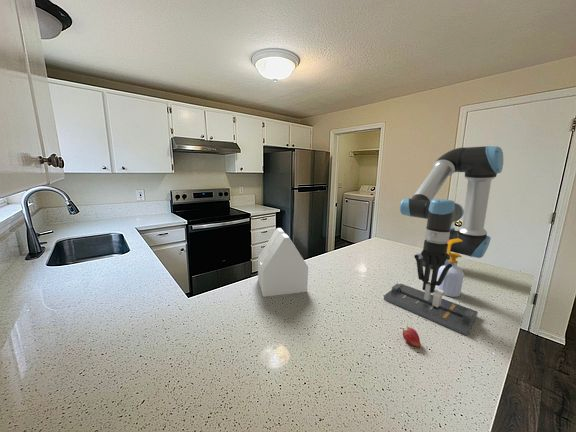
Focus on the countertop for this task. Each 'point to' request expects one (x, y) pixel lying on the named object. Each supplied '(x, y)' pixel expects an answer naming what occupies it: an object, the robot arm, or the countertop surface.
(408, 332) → the fruit
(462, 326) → the console
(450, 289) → the soap bottle
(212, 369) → the countertop surface
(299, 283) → the white toy house
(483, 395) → the countertop surface
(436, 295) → the fader
